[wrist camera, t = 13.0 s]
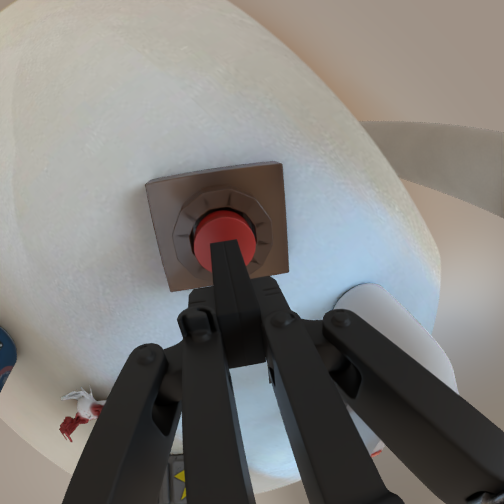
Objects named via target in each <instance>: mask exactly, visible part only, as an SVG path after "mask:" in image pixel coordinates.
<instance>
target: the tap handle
mask: <svg viewBox="0 0 504 504" xmlns="http://www.w3.org/2000/svg"><path fill="white" fill-rule="evenodd" d="M346 408H347V410H348V412H349V414H350V416H351V418H352V420H353V422H354V424H355V426H356V428H357V430H358V432H359V434H360V436H361V438H362V440H363V442H364V444H365V446H366V448H367V450H368V452H369V454H370V456H371V458H372V457H374V456H376V455H378V454H380V453H381V450H382V449H383V447H384V446H385V444H384V443H383V442H382V441H381V440H380V439H379V438H378V436H377V435H376V434H375V433H374V432H373V431H372V430H371V429H370V428H369V427H368V426H367V425H366V424H365V423H364V422H363V420H362V419H361V418H360V417H359V416H358V415H357V414H356V413H355V412H354V411H353V410H352V409H351V407H350V406H349V405H348V404H347V407H346Z"/></svg>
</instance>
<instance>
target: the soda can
mask: <svg viewBox="0 0 504 504" xmlns="http://www.w3.org/2000/svg"><path fill="white" fill-rule="evenodd" d="M16 360H17V352H16V346H15V343H14V341H13V339H12V338H11V336H10V335H9V334H8V333H7V332H6V331H5V330H4V329H3V328H2V327H1V326H0V392H1V390H2V388H3V386H4V384H5V382H6V380H7V378H8V376H9V374H10V372H11V370H12V369H13V367H14V365H15V363H16Z"/></svg>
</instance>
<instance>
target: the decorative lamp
mask: <svg viewBox="0 0 504 504" xmlns="http://www.w3.org/2000/svg"><path fill="white" fill-rule="evenodd" d="M157 504H187V500H186V489H185V475H184V459H183V455H171V456H169V459H168V463H167V467H166V471H165V474H164V478H163V482H162V486H161V490H160V494H159V498H158V502H157Z"/></svg>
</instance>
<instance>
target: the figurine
mask: <svg viewBox="0 0 504 504" xmlns="http://www.w3.org/2000/svg"><path fill="white" fill-rule="evenodd" d="M81 389H82V388H81ZM82 390H83V389H82ZM90 390H91V387H90ZM81 396H84V397H81ZM61 399H62V400H67V399H77V401H78V403H77V409H78V412H77V413H76V416H75V418H74V419H73V418H71V417H65V419H64V422H63V423H62V424H61V425H60V429H59V430H60V431H61V433H62V434H64V433H65V435H66V436H67V437H68V438H69V440H70V441H71V442H72V439H71V438H70V434H71V433H72V432H73V431H74V430H75V429H76V427H77V426H78V425H79V424H86V423H88V421H89V419H98V417H99V415H100V412H101V410H102V408H103V406H104V404H105V402H106V400H102V401H96V400H95V399H94V398H93V395H92V391H91V393H90V394H88V393H87V392H86V391H84V390H83V391H79V392H78V391H77V392H75V391H74V390H73V392H71V393H68V394H67V395H65V396H62V397H61ZM90 421H91V420H90ZM63 436H64V435H63ZM64 437H65V436H64ZM65 439H66V437H65ZM66 440H67V439H66Z"/></svg>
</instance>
